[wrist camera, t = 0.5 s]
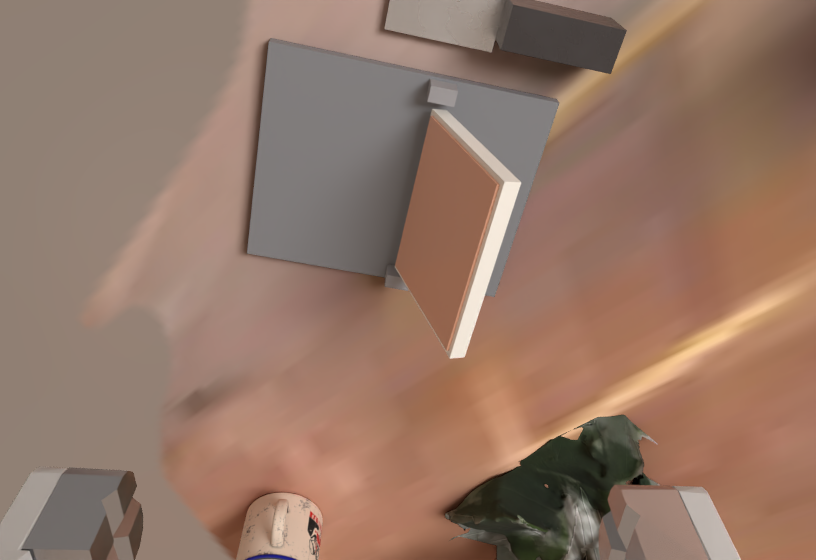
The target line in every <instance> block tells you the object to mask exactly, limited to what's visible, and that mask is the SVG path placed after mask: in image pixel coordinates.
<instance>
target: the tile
mask: <svg viewBox="0 0 816 560" xmlns="http://www.w3.org/2000/svg"><path fill="white" fill-rule="evenodd" d="M520 185H521V182H520V181H519V180H518V179H517V178H516V177H515V176H514V175H513V174H512V173H511V172H510V171H509V170H508V169H507V168H506V167H505V166H504V165H503V164H502V163H501V162H500V161H499V160H498V159H497V158H496V157H495V156H494V155H493V154H492V153H490V152H489V151H488V150H487V149H486V148H485V147H484V146H483V145H482V144H481V143H480V142H479V141H478V140H477V139H476V138H475V137H474V136H473V135H472V134H471V133H470V132H469V131H468V130H467V129H466V128H465V127H464V126H463V125H462V124H461V123H460V122H459V121H457V120H456V119H455V118H454V117H453V116H452V115H451V114H450V113H449V112H448V111H447V110H441V109H432V111H431V116H430V120H429V124H428V128H427V132H426V137H425V141H424V145H423V149H422V154H421V158H420V162H419V166H418V171H417V175H416V179H415V183H414V187H413V192H412V196H411V200H410V204H409V209H408V213H407V217H406V221H405V225H404V230H403V234H402V238H401V242H400V247H399V251H398V255H397V259H396V264H395V268H396V270H397V272H398V273H399V275H400V277H401V278H402V280H403V282H404V283H405V285H406V287H407V288H408V290H409V292H410V293H411V295H412V297H413V298H414V300H415V302H416V303H417V305H418V307H419V308H420V310H421V312H422V313H423V315H424V317H425V318H426V320H427V322H428V323H429V325H430V326H431V328H432V330H433V331H434V333H435V335H436V336H437V338H438V340H439V341H440V343H441V345H442V346H443V348H444V350H445V351H446V353H447V355H448V356H449V358H462V357H465V354H466V351H467V348H468V345H469V342H470V339H471V336H472V333H473V330H474V327H475V324H476V320H477V317H478V314H479V311H480V308H481V305H482V302H483V299H484V296H485V293H486V290H487V287H488V284H489V281H490V277H491V274H492V271H493V268H494V265H495V262H496V259H497V256H498V253H499V250H500V247H501V244H502V241H503V237H504V234H505V231H506V228H507V225H508V222H509V219H510V216H511V213H512V210H513V207H514V204H515V201H516V198H517V194H518V191H519V188H520Z"/></svg>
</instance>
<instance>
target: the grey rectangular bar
mask: <svg viewBox="0 0 816 560" xmlns="http://www.w3.org/2000/svg"><path fill="white" fill-rule="evenodd" d="M385 29H386V30H391V31H395V32H400V33H405V34H409V35H414V36H418V37H423V38H427V39H432V40H437V41H441V42H446V43H450V44H455V45H459V46H464V47H469V48H473V49H478V50H482V51H487V52H491V53H492V49H493V46H494V42H495V39H496V41H497V43H498V45H499V47H500V49H501V50H504V51H508V52H513V53H517V54H522V55H526V56H531V57H535V58H540V59H545V60H549V61H554V62H558V63H563V64H567V65H572V66H576V67H581V68H586V69H590V70H595V71H599V72H604V73H608V74H611V72H612V69H613V66H614V64H615V61H616V58H617V55H618V53H619V50H620V47H621V45H622V42H623V39H624V36H625V34H626V31H627V30H626V29H624V28H623V27H622V26H621V25H619V24H618V23H617V22H616V21H615V20H613V19H612V18H609V17H605V16H601V15H596V14H592V13H588V12H583V11H579V10H575V9H570V8H566V7H562V6H557V5H553V4H548V3H544V2H540V1H535V0H390V1H389V6H388V12H387V17H386V22H385Z"/></svg>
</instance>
